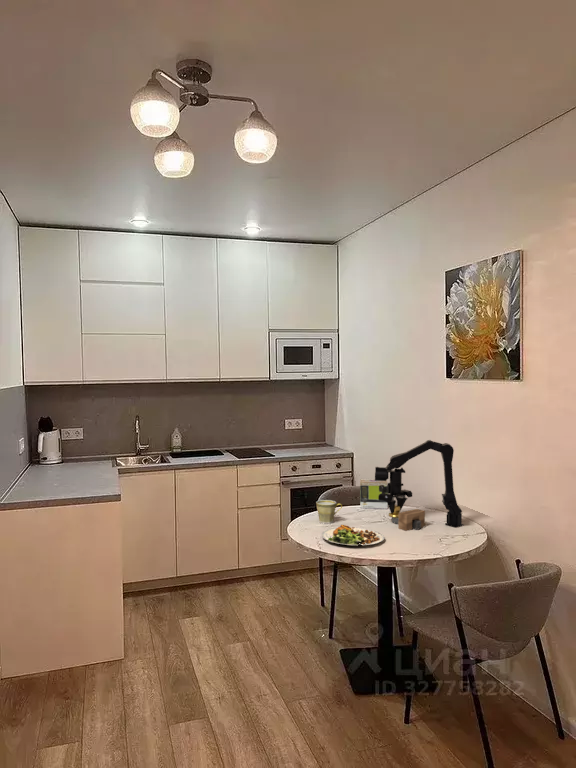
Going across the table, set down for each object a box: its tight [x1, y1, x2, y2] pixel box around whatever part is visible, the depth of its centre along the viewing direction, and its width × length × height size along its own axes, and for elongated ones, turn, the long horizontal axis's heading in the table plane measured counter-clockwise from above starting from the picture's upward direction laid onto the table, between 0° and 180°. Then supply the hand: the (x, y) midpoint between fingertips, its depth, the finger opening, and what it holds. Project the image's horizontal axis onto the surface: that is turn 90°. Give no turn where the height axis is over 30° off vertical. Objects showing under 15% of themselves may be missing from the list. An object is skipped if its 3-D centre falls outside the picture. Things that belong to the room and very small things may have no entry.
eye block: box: [397, 508, 426, 531], centre depth 273 cm, size 5×13×8 cm, turn 126°
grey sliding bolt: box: [388, 504, 422, 530], centre depth 277 cm, size 18×6×8 cm, turn 36°
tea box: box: [359, 478, 389, 510], centre depth 315 cm, size 15×10×15 cm
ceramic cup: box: [315, 499, 343, 525], centre depth 283 cm, size 13×10×10 cm
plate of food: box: [321, 524, 385, 546], centre depth 254 cm, size 28×28×6 cm
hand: (395, 512), depth 282 cm, fingers closed on grey sliding bolt, 4 cm apart
